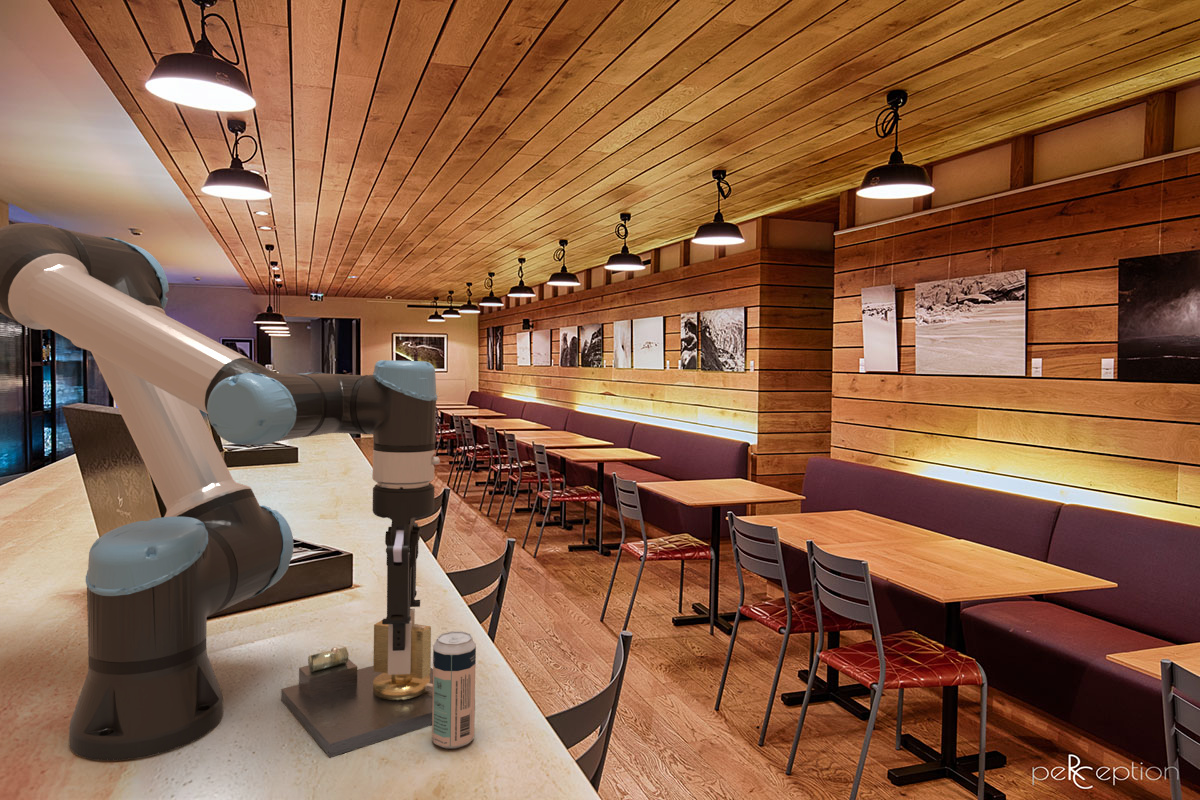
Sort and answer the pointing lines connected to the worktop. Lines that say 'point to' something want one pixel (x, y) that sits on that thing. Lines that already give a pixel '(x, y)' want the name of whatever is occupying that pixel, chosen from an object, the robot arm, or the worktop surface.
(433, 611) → the worktop surface
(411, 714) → the grey base plate
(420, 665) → the gold disc with bar
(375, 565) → the worktop surface
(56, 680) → the worktop surface
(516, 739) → the worktop surface
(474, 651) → the beer can
